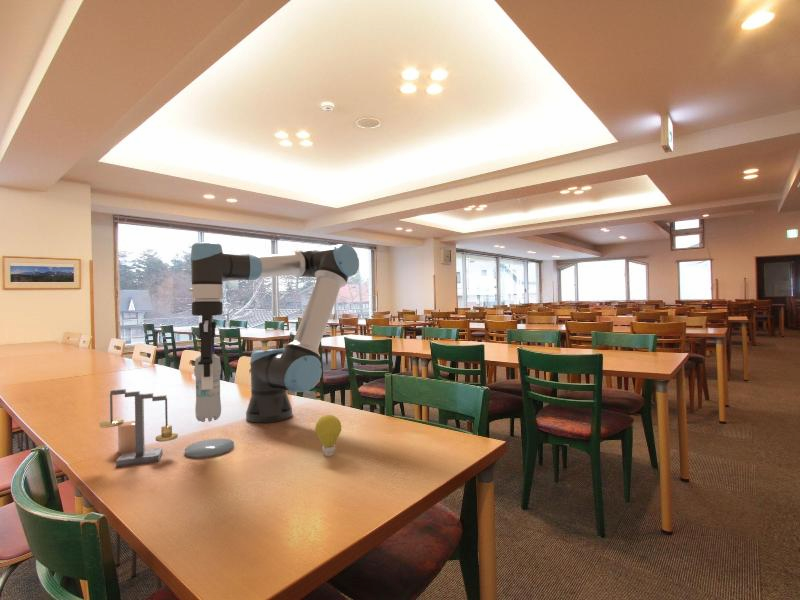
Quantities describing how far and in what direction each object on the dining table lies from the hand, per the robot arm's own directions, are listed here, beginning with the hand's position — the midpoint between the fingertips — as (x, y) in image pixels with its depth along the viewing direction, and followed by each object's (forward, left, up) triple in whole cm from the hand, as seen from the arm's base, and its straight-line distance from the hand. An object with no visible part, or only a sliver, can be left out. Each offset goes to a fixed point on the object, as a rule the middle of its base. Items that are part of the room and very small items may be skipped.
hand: (208, 386), depth 113 cm
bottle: (0, 0, -9) cm, 9 cm away
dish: (0, 0, -17) cm, 17 cm away
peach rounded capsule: (+20, -9, -17) cm, 28 cm away
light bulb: (-29, +16, -17) cm, 37 cm away
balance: (+16, +1, -17) cm, 23 cm away
